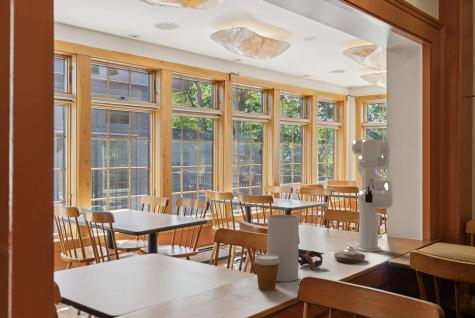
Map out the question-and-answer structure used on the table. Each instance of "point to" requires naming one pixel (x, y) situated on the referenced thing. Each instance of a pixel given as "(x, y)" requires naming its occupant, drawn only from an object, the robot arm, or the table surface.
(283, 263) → the cylinder vase
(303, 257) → the brown ornate stand
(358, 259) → the disc
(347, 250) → the cover
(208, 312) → the table surface
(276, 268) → the disposable coffee cup
